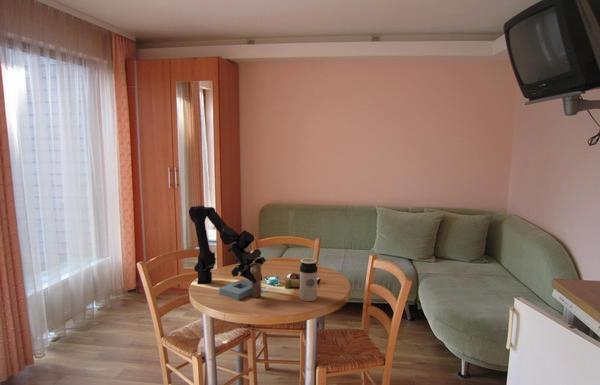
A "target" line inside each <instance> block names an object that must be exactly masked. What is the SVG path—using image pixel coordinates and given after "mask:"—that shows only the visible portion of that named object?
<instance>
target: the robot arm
mask: <svg viewBox="0 0 600 385" xmlns="http://www.w3.org/2000/svg"><path fill="white" fill-rule="evenodd" d="M188 214H189V215H188V216H189V218H190V221H191V222H192V223H193V224H194V228H195V231H196V238H197V244H198V248H199V249H198V250H199V253H198V255H197V256H198V257H197V263H196V264H195V265H194V266H193V267H194V268H193V269H194V271H195V272H197V284H199V285H200V284H203V285H204V284H211V282H212V281H213V272H212V270H213V269H214V268H215V265H216V260H217V258H216V253H215V252H214V251H213V252H212V251H211V250H210V244H209V238H208V233H207V228H206V219H208V220H209V221H210V223H211V224H212V225H213V227H215V229H216V230H217V232H218V233H219V238H220V240H221V241H222V243H223V245H225V246H228V249H227V253H232V254H233V256H234V257H235V262H236V263H239V264H238V265H236V266H234V268H233V269H232V270H231V275H232V277H233V278H235V277H238V276H239V277H242V278H245V280H248V281H251V282H253V283H256V280H255V278H254V276H253V275H252V264H253V263H260V264H261V266H262V265H263V264H265V262H267V260H266V258H265V257H264V256H261V255H262V251H261V250H260V249H259V248H256V249H253V252H250V251H249V250H248V251H247V250H246V249H248V248H249V246H251V244H252V243H253V242H255V236H254V234H252V233H251V232H249V231H248V230H245V229H244V230H242V231H241V233H240V234H239V233H238V232H237V231H236V230H235V229H233V228H232V227H230V226H228V225H227V223H226V222H225V221H224V220H223V218H222V217H221V216H220V214H218V212H217V211H216V209H215V207H213V206H204V205H202V204H200V205H194V206H191V207H190V208H189V210H188ZM229 245H230V246H229ZM239 273H240V274H239ZM262 281H263V276H262V274H261V282H262Z"/></svg>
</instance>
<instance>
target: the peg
mask: <svg viewBox="0 0 600 385" xmlns="http://www.w3.org/2000/svg"><path fill="white" fill-rule="evenodd" d="M251 271H252V272H251V273H252V275H253V276H254V278H255V280H256V283H253V282H252V294H251V297H253V298H260V297H262V281H261V275H262V265H261V264H260V263H253V264H252V268H251Z"/></svg>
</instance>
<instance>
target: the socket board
mask: <svg viewBox="0 0 600 385" xmlns="http://www.w3.org/2000/svg"><path fill="white" fill-rule="evenodd" d="M218 290H219V295H220V296H224V297H226V298H230V299H233V300H237V301H240V300H242V299H244V298H246V297H248V296H252V282H251V281H250V280H248V279H243V278H242V279H239V280H236V281H234V282H232V283H228V284H227V285H223V286H222V287H219V288H218Z"/></svg>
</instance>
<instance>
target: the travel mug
mask: <svg viewBox="0 0 600 385" xmlns="http://www.w3.org/2000/svg"><path fill="white" fill-rule="evenodd" d="M317 262H318V260H317V259H316V258H311V257H310V258H309V257H307V258H305V257H304V258H302V259H300V263H301V264H300V266H299V280H300V287H299V299H300V300H301V301H304V302H313V301H316V300H317V298H318V266H317Z"/></svg>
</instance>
